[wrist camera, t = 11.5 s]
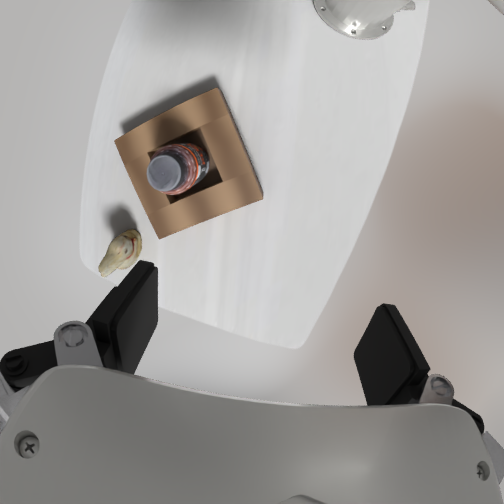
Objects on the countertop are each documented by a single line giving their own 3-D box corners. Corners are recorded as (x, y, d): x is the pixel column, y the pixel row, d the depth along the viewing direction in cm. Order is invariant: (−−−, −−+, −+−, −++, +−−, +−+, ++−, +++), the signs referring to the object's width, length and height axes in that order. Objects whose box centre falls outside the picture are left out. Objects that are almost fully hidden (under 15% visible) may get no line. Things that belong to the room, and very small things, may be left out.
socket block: (221, 91, 34) (217, 87, 30) (263, 192, 40) (263, 199, 36) (126, 139, 37) (114, 140, 33) (167, 230, 43) (159, 239, 39)
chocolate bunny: (155, 248, 44) (130, 278, 35) (124, 269, 46) (98, 299, 37) (136, 221, 43) (106, 245, 33) (106, 244, 44) (76, 270, 35)
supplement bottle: (219, 157, 37) (201, 166, 27) (196, 190, 39) (172, 212, 29) (185, 134, 36) (155, 135, 26) (163, 168, 38) (129, 182, 28)
